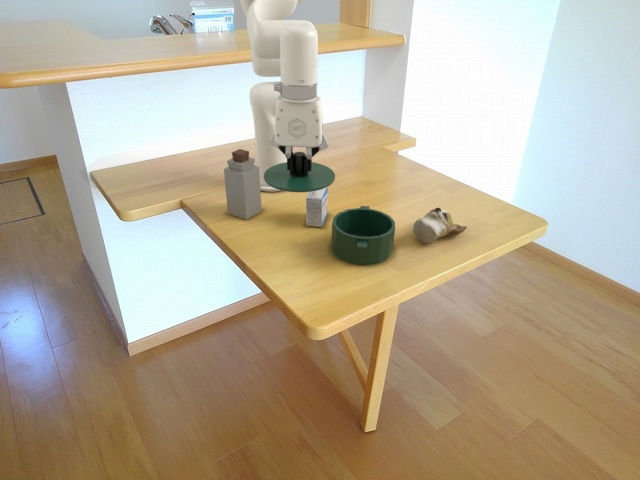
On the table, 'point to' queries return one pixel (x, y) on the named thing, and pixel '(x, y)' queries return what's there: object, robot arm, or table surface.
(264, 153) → the robot arm
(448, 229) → the ceramic sculpture
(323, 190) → the medicine box
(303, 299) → the table surface
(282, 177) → the lid
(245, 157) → the perfume bottle
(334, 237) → the pot
